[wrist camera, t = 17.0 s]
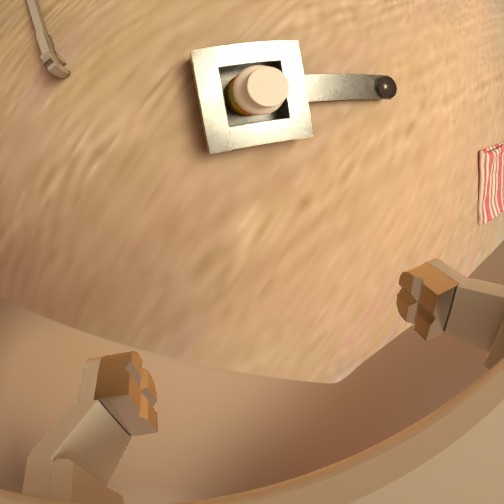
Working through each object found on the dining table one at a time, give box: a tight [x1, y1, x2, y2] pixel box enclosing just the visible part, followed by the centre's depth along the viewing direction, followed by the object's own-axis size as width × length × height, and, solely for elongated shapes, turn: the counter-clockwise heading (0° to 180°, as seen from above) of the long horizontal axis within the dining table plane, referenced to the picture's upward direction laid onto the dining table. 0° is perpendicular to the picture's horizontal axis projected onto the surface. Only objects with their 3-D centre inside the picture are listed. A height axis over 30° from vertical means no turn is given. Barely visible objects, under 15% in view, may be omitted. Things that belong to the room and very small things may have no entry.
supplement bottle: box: [224, 65, 289, 116], centre depth 28 cm, size 5×5×10 cm
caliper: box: [27, 0, 70, 78], centre depth 19 cm, size 20×1×6 cm, turn 26°
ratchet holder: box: [190, 40, 397, 154], centre depth 32 cm, size 27×12×4 cm, turn 99°
